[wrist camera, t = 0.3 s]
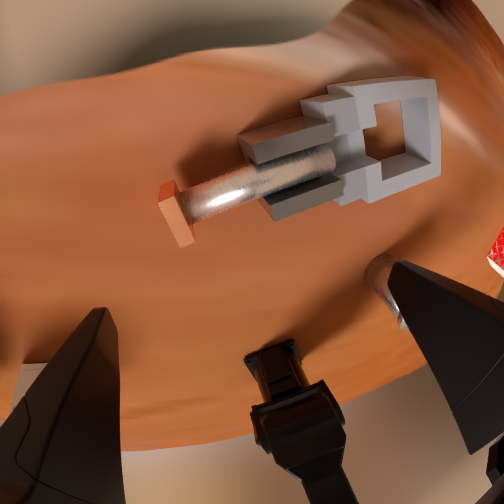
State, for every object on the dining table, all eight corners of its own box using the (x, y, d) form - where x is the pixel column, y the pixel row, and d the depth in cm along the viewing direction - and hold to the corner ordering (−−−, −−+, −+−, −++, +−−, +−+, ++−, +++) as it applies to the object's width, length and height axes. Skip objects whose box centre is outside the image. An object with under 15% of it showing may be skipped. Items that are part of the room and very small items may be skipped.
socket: (415, 163, 23) (440, 175, 20) (320, 197, 22) (341, 214, 20) (407, 75, 18) (435, 79, 15) (297, 91, 17) (319, 92, 14)
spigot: (392, 275, 31) (430, 316, 24) (362, 291, 31) (398, 337, 24) (394, 246, 28) (438, 288, 22) (361, 262, 28) (404, 309, 22)
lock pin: (320, 171, 20) (342, 185, 17) (179, 224, 19) (180, 248, 16) (312, 130, 18) (335, 139, 15) (160, 185, 17) (157, 203, 15)
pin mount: (316, 176, 21) (343, 195, 18) (256, 198, 21) (274, 221, 18) (303, 115, 18) (331, 121, 15) (236, 135, 18) (251, 145, 15)
